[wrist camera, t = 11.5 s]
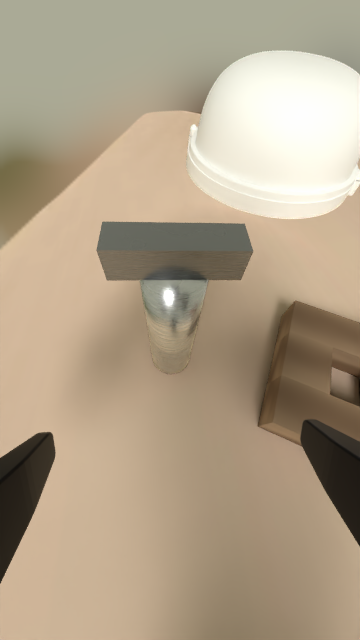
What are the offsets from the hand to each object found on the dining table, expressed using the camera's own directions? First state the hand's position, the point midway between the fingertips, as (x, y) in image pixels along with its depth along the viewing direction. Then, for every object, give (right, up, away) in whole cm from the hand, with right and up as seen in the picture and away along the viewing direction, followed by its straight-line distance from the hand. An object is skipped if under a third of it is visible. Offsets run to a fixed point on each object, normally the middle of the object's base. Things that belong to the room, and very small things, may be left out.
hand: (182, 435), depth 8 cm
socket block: (+14, -2, +13) cm, 19 cm away
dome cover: (+16, +32, +34) cm, 50 cm away
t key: (-1, +1, +13) cm, 13 cm away
